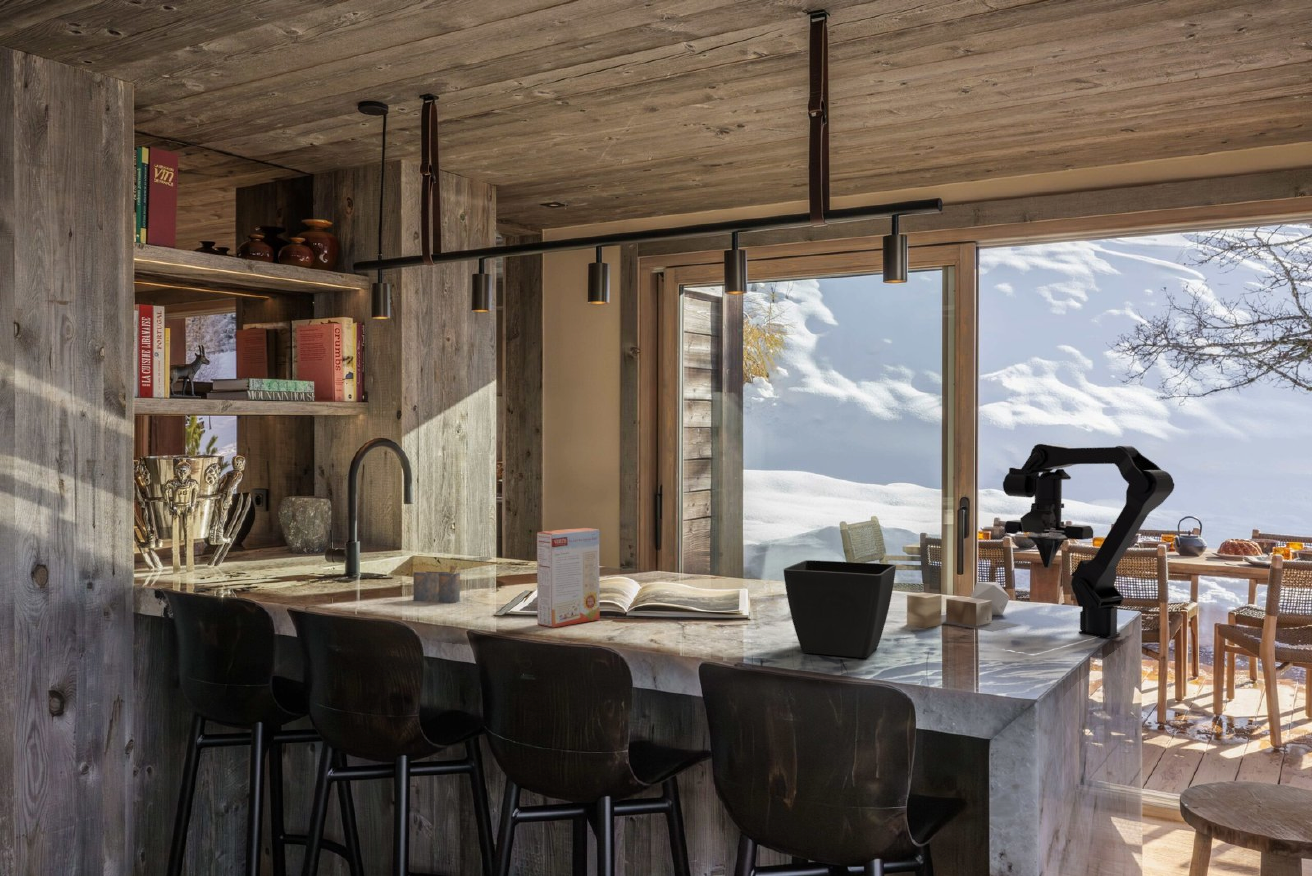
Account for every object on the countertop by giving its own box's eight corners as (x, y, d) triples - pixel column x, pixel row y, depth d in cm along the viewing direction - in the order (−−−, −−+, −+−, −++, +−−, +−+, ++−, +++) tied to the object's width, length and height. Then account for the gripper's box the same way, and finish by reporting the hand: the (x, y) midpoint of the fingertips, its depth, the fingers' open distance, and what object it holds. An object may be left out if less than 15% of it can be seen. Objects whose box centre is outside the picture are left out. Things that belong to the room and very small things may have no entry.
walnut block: (991, 600, 228) (960, 596, 234) (977, 603, 224) (946, 598, 230) (991, 622, 228) (960, 617, 234) (977, 625, 224) (946, 620, 230)
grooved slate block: (460, 602, 253) (460, 564, 253) (455, 604, 250) (455, 565, 250) (418, 600, 256) (418, 562, 256) (413, 602, 253) (413, 564, 253)
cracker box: (583, 617, 233) (584, 526, 233) (600, 620, 229) (601, 528, 228) (535, 624, 223) (535, 530, 223) (552, 628, 219) (553, 532, 219)
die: (1002, 622, 234) (1020, 588, 237) (969, 603, 235) (987, 569, 238) (991, 628, 241) (1008, 595, 244) (959, 609, 243) (976, 576, 246)
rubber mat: (1020, 626, 226) (1020, 624, 226) (992, 632, 218) (992, 631, 218) (950, 614, 240) (950, 613, 240) (921, 620, 232) (921, 619, 232)
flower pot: (805, 637, 212) (806, 557, 212) (896, 645, 205) (897, 563, 204) (781, 655, 194) (781, 568, 194) (879, 665, 187) (880, 574, 187)
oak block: (941, 626, 226) (941, 595, 226) (926, 629, 222) (926, 597, 222) (922, 622, 229) (922, 592, 229) (906, 626, 225) (907, 595, 225)
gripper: (991, 498, 229) (990, 566, 230) (1070, 502, 215) (1069, 575, 216) (1016, 496, 237) (1016, 562, 237) (1094, 500, 223) (1094, 571, 223)
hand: (1047, 567), depth 228 cm, fingers closed
